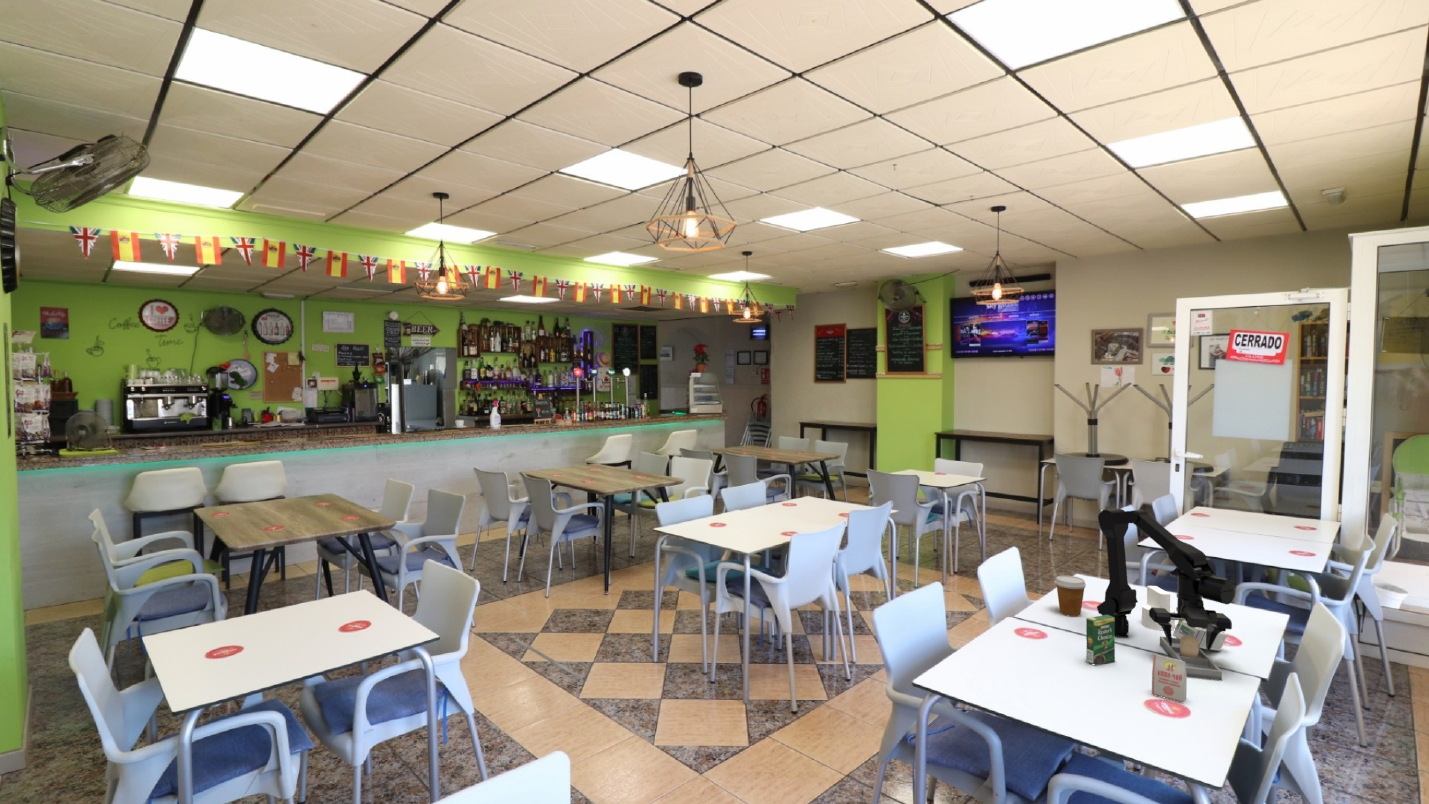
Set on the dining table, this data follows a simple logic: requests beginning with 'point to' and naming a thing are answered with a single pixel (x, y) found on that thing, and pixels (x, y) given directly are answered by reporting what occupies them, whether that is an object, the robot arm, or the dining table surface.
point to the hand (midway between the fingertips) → (1189, 647)
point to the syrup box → (1199, 635)
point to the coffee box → (1100, 639)
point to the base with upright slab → (1157, 600)
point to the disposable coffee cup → (1070, 594)
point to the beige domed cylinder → (1189, 647)
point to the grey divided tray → (1192, 661)
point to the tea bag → (1169, 678)
